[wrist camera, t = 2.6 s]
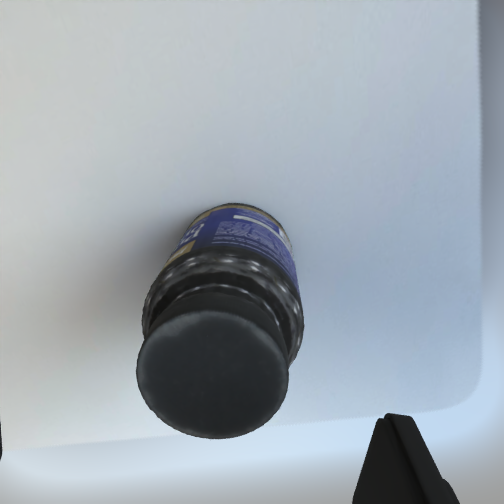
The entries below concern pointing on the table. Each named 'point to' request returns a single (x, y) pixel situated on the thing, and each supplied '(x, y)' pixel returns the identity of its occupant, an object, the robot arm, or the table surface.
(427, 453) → the robot arm
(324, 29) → the table surface
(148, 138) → the table surface
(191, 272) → the pill bottle
